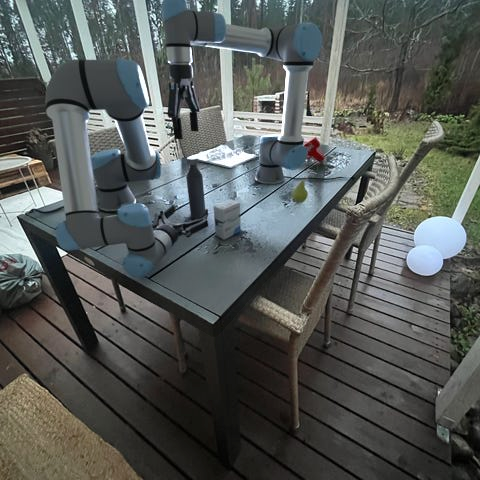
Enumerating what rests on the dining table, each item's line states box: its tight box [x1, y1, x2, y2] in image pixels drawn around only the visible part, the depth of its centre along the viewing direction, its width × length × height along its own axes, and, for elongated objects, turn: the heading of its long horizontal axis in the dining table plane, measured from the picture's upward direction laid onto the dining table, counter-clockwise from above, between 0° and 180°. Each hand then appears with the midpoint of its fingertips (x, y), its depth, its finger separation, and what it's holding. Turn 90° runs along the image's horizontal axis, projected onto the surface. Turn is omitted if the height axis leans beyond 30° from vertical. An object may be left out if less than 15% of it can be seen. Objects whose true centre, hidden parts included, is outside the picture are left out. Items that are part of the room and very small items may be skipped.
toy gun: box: [303, 136, 326, 164], centre depth 169 cm, size 18×4×15 cm
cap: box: [186, 155, 199, 166], centre depth 99 cm, size 4×4×2 cm
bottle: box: [185, 164, 206, 220], centre depth 105 cm, size 6×6×23 cm
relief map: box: [189, 143, 257, 169], centre depth 179 cm, size 27×35×5 cm
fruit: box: [291, 174, 311, 204], centre depth 118 cm, size 7×8×12 cm
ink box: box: [213, 198, 242, 240], centre depth 96 cm, size 8×5×12 cm, turn 135°
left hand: (190, 210), depth 102 cm, fingers open, 13 cm apart
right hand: (187, 134), depth 97 cm, fingers open, 13 cm apart
